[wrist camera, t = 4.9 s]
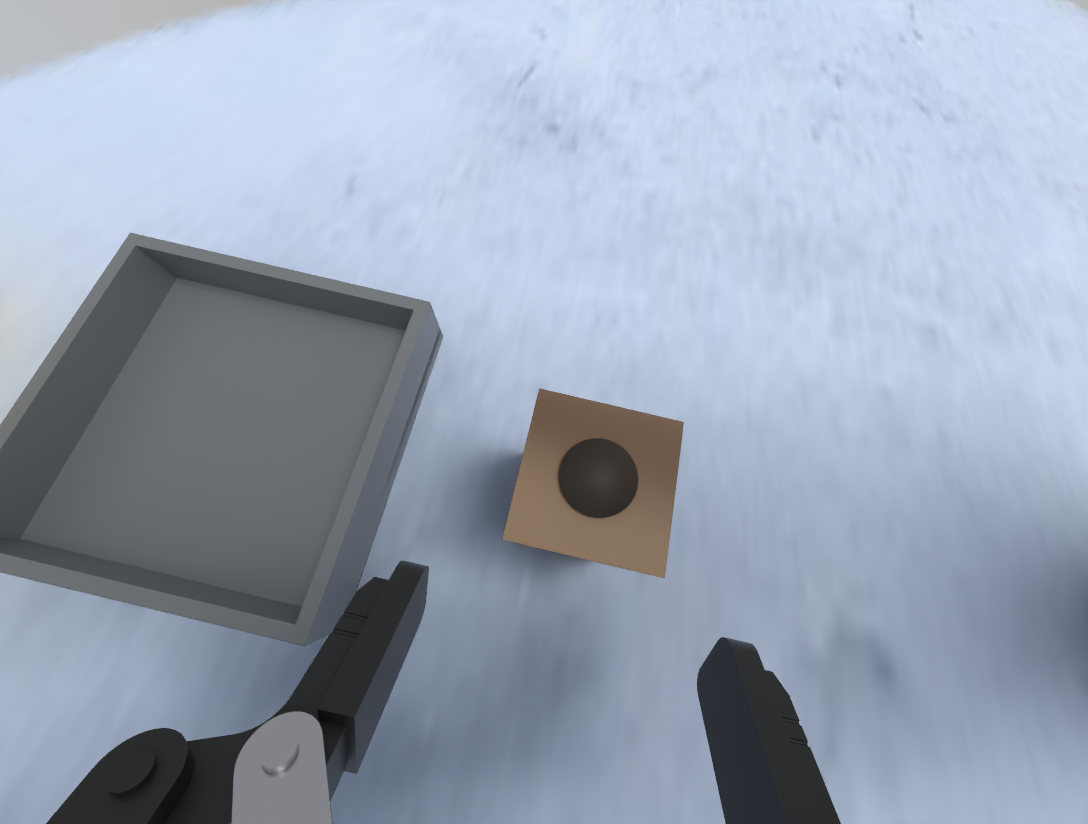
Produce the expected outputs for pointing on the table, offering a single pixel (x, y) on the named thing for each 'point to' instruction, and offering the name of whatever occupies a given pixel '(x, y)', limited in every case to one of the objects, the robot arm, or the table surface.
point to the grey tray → (214, 439)
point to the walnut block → (597, 483)
